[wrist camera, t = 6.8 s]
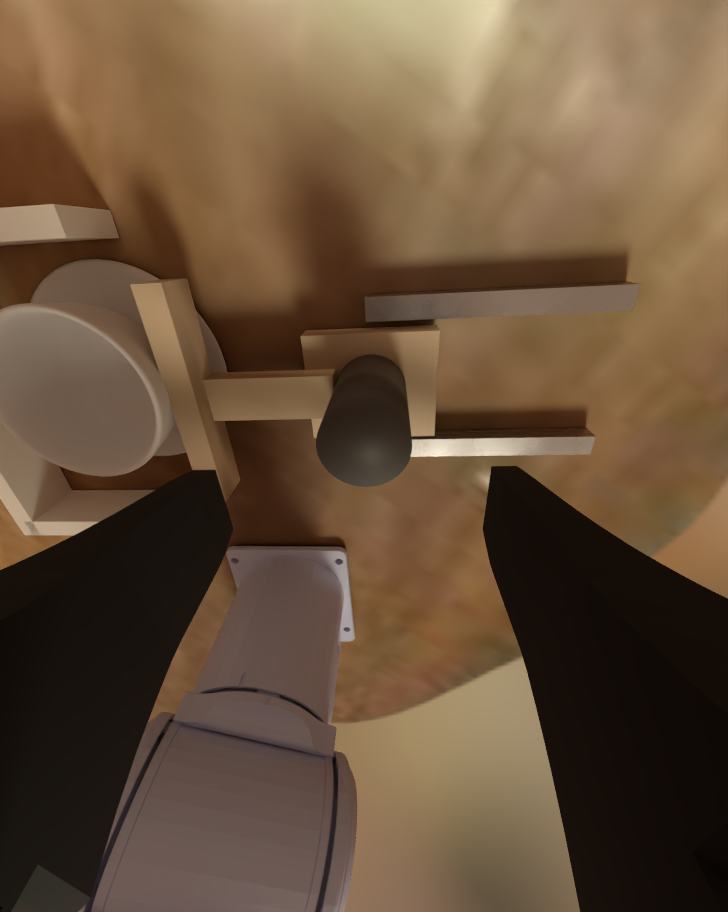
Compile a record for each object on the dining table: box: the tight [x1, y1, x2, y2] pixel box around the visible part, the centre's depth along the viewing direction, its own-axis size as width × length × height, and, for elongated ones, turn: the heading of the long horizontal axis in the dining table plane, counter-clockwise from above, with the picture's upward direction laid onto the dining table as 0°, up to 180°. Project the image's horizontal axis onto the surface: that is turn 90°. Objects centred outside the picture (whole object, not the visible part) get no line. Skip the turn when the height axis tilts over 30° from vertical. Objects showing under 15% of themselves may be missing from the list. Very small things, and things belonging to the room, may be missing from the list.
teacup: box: [0, 259, 227, 476], centre depth 17 cm, size 10×10×5 cm
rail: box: [364, 282, 640, 457], centre depth 17 cm, size 8×11×1 cm
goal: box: [0, 204, 155, 535], centre depth 18 cm, size 15×10×3 cm, turn 3°
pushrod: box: [130, 278, 440, 502], centre depth 15 cm, size 10×12×7 cm
